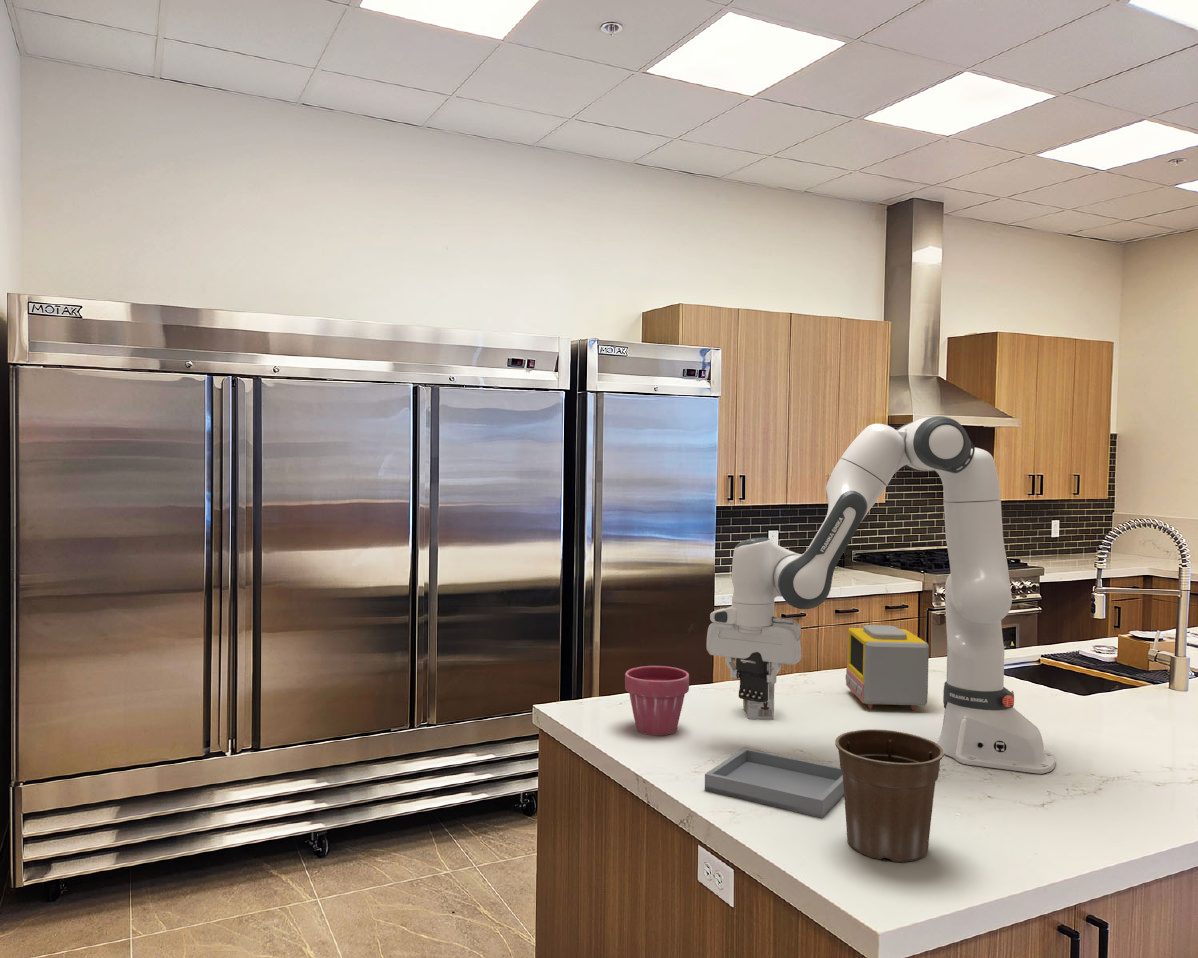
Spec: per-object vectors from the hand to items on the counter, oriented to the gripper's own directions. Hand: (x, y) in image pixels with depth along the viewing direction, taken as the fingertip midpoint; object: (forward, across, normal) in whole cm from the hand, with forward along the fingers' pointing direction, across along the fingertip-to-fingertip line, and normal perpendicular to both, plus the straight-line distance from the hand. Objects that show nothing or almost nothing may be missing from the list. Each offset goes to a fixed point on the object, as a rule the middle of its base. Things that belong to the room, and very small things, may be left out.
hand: (753, 680), depth 187 cm
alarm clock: (+15, -13, -53) cm, 56 cm away
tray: (+14, -13, +19) cm, 27 cm away
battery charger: (+4, 0, 0) cm, 4 cm away
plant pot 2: (+15, -36, +33) cm, 51 cm away
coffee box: (+14, +9, -24) cm, 29 cm away
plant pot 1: (+14, +23, +1) cm, 27 cm away
